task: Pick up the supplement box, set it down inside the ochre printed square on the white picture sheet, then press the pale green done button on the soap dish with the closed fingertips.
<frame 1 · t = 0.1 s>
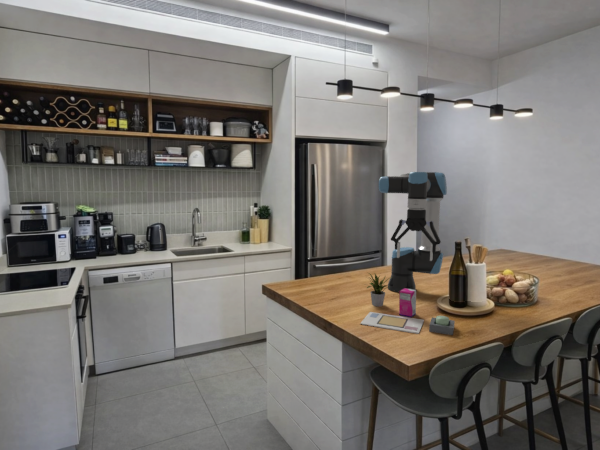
hand: (414, 258, 170), 28 cm above the kitchen island, fingers open, 13 cm apart
done button: (442, 322, 164), point 3 cm above the kitchen island, slide at 0.0 cm
house plant: (374, 304, 196), on the kitchen island
soap dish: (441, 329, 165), on the kitchen island
picture sheet: (392, 322, 172), on the kitchen island
supplement box: (407, 315, 182), on the kitchen island
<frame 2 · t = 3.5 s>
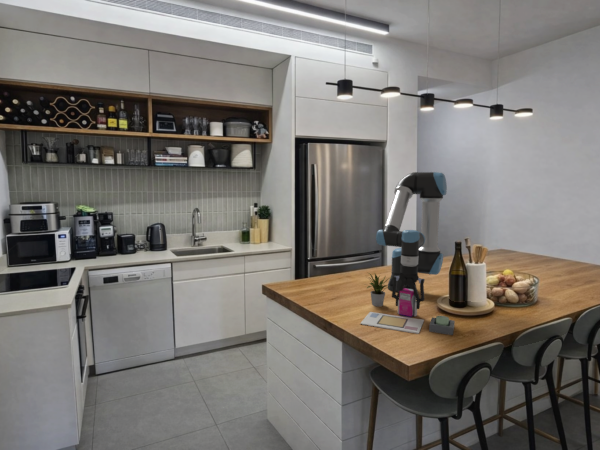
hand: (407, 314, 182), 0 cm above the kitchen island, fingers closed on supplement box, 7 cm apart
supplement box: (407, 315, 182), on the kitchen island, touching gripper
everything else where it was.
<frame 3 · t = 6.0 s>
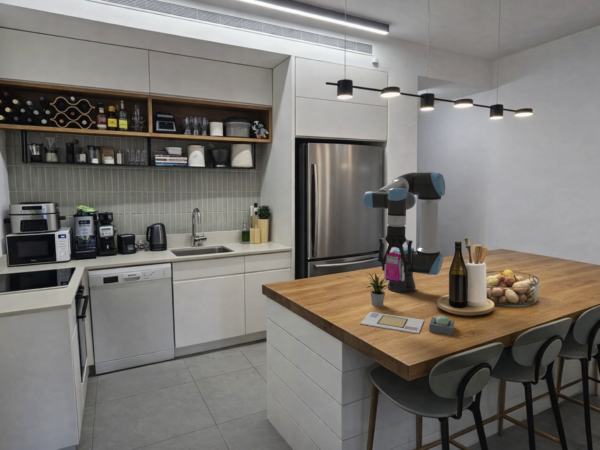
hand: (394, 279, 170), 19 cm above the kitchen island, fingers closed on supplement box, 6 cm apart
supplement box: (394, 280, 170), point 19 cm above the kitchen island, touching gripper
everything else where it was.
when the fingers open (2 cm above the kitchen island, at t = 8.8 s): supplement box stays where it is, resting on picture sheet.
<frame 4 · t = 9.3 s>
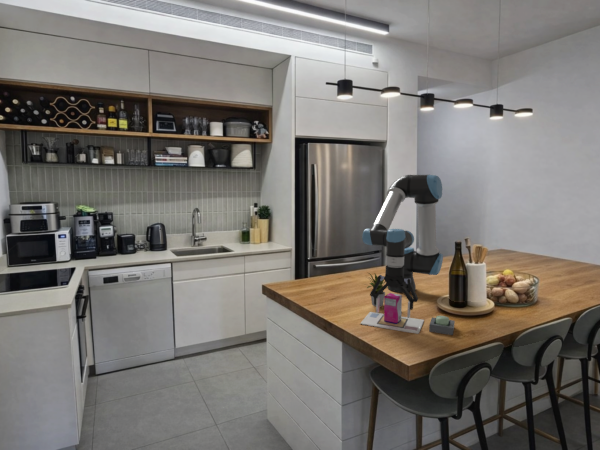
hand: (392, 314, 172), 4 cm above the kitchen island, fingers open, 13 cm apart
supplement box: (392, 321, 172), resting on picture sheet
everything else where it was.
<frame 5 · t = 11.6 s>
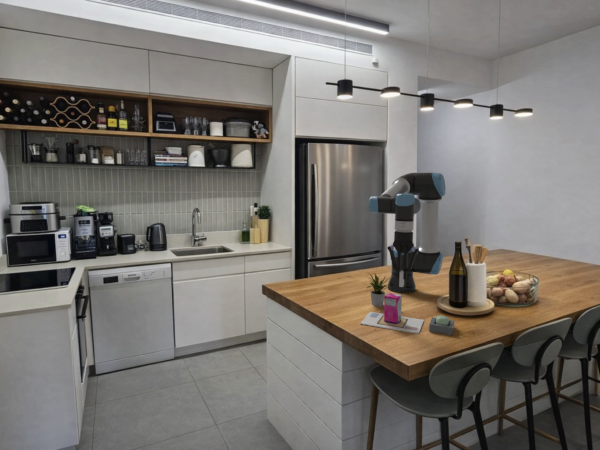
hand: (401, 286, 169), 16 cm above the kitchen island, fingers closed
nothing on the kitchen island moved.
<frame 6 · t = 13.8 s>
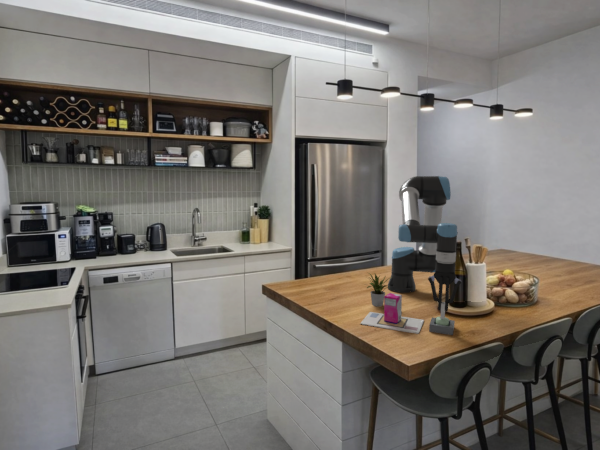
hand: (442, 318, 164), 5 cm above the kitchen island, fingers closed
done button: (442, 323, 165), point 3 cm above the kitchen island, slide at 0.4 cm, touching gripper
everything else where it was.
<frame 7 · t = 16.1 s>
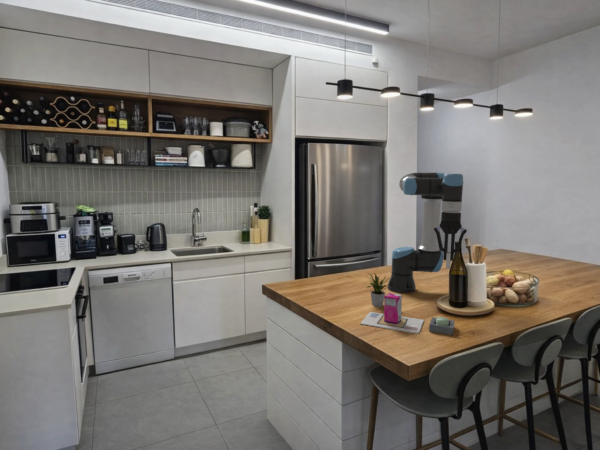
hand: (448, 267, 167), 25 cm above the kitchen island, fingers closed
done button: (442, 323, 165), point 2 cm above the kitchen island, slide at 0.6 cm
everything else where it was.
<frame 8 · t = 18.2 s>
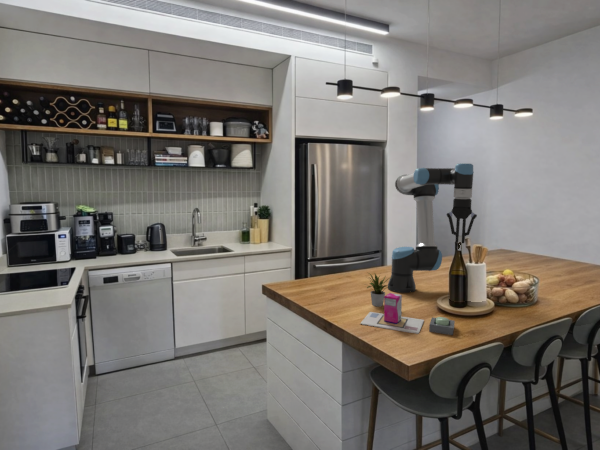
hand: (459, 250, 182), 29 cm above the kitchen island, fingers closed
nothing on the kitchen island moved.
at the end: supplement box inside the target area on the picture sheet (0.2 cm from its centre), point 0.4 cm above the picture sheet's base; supplement box tilted 0°; done button slide at 0.6 cm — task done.
